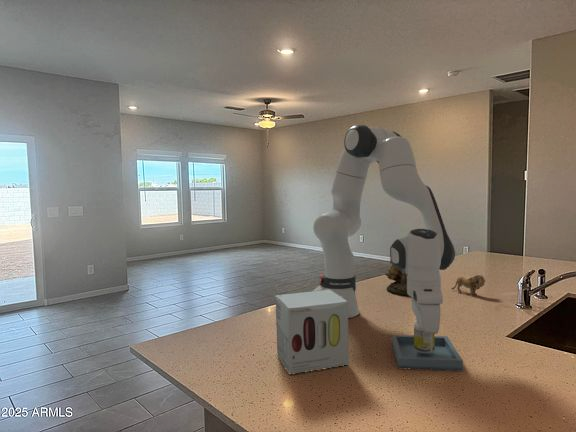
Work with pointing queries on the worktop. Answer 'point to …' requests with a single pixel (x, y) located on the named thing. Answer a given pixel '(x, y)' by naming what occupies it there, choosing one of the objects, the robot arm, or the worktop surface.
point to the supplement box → (312, 330)
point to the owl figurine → (397, 280)
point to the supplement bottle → (418, 340)
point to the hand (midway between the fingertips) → (423, 337)
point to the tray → (437, 360)
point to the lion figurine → (470, 283)
